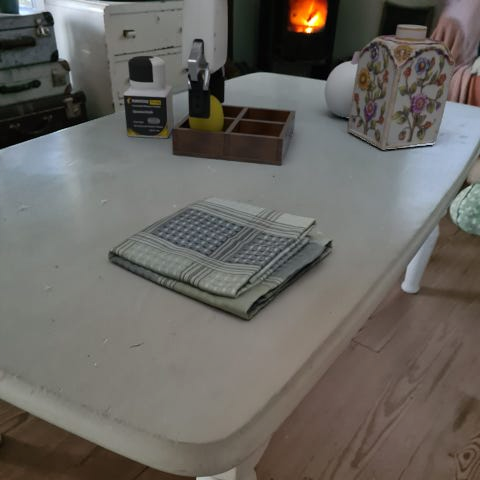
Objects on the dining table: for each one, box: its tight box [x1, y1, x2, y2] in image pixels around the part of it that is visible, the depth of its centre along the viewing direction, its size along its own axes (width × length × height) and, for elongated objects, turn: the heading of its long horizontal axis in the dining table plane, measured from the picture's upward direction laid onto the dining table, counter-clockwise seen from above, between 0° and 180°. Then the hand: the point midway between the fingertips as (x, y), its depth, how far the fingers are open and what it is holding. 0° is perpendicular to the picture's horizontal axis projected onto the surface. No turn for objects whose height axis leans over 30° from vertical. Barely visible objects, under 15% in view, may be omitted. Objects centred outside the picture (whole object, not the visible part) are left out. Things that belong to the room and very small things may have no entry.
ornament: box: [324, 51, 361, 118], centre depth 101 cm, size 10×10×12 cm
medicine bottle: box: [123, 55, 175, 139], centre depth 88 cm, size 7×7×12 cm
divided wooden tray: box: [171, 103, 296, 166], centre depth 87 cm, size 17×17×4 cm
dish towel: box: [107, 195, 334, 320], centre depth 55 cm, size 19×18×3 cm
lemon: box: [189, 95, 224, 132], centre depth 82 cm, size 6×6×8 cm
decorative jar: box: [347, 24, 456, 149], centre depth 88 cm, size 12×12×18 cm
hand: (207, 109), depth 82 cm, fingers open, 9 cm apart
